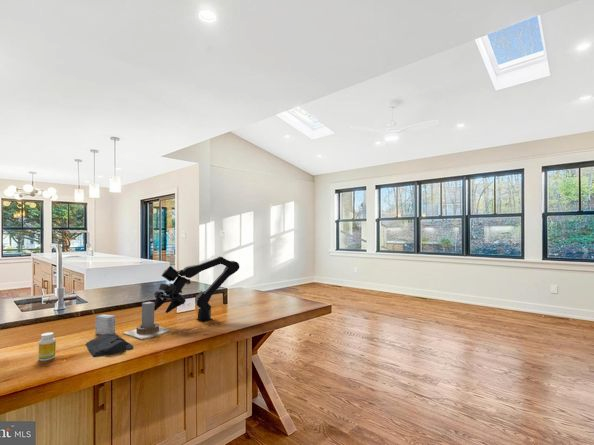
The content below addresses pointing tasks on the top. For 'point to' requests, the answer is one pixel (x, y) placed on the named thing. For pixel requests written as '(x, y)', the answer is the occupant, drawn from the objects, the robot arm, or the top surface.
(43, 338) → the supplement bottle
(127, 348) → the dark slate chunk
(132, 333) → the ring holder
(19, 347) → the top surface
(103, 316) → the medicine box
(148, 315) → the tall square grey column
